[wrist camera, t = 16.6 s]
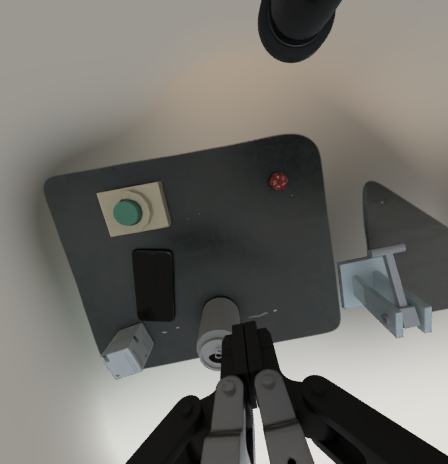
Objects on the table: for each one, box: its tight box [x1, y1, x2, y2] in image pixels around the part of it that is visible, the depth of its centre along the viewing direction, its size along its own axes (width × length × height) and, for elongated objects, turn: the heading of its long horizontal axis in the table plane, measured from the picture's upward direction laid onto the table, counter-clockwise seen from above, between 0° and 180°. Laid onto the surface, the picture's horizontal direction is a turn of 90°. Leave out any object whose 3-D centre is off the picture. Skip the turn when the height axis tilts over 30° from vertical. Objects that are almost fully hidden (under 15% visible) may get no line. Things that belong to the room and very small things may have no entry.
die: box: [269, 172, 288, 190], centre depth 38 cm, size 3×3×3 cm
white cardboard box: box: [101, 323, 154, 379], centre depth 45 cm, size 6×6×7 cm
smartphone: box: [132, 249, 175, 322], centre depth 45 cm, size 8×1×16 cm
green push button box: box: [97, 181, 172, 237], centre depth 39 cm, size 11×8×4 cm
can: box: [197, 298, 240, 371], centre depth 41 cm, size 8×8×12 cm
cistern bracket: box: [337, 256, 432, 338], centre depth 38 cm, size 10×9×13 cm
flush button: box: [113, 200, 141, 226], centre depth 37 cm, size 4×4×2 cm
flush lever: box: [368, 243, 420, 328], centre depth 34 cm, size 12×5×2 cm, turn 13°
